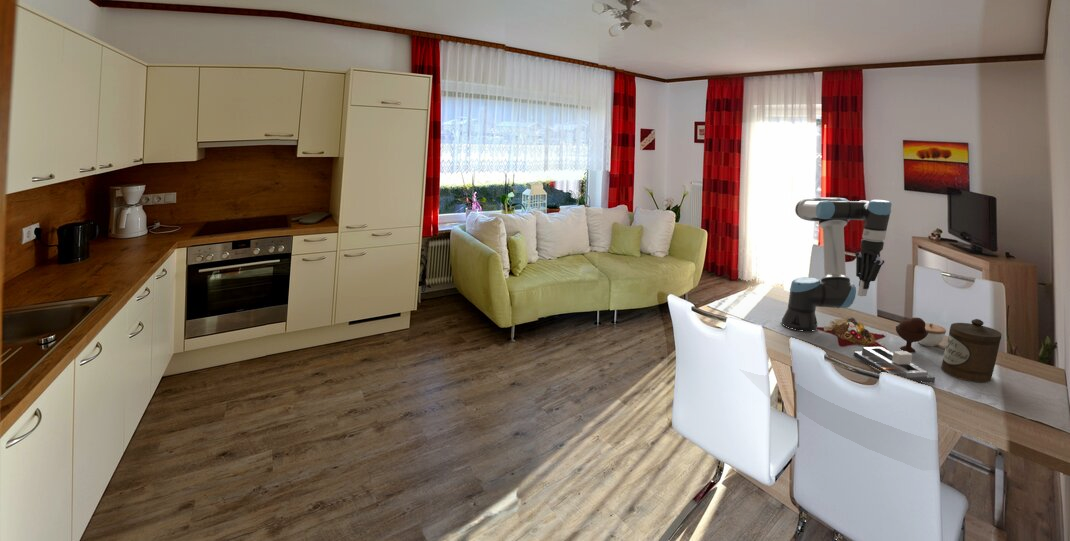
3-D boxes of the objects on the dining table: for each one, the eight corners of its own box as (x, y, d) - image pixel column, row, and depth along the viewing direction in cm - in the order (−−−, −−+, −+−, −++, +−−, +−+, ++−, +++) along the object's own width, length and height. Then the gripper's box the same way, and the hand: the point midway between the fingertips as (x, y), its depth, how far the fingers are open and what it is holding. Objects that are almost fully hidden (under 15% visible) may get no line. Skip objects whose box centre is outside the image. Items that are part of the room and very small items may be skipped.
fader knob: (890, 366, 192) (893, 351, 190) (902, 365, 192) (905, 350, 190) (897, 370, 188) (900, 355, 187) (909, 369, 189) (912, 354, 187)
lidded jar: (947, 349, 212) (952, 329, 209) (919, 347, 214) (924, 327, 211) (933, 339, 222) (938, 320, 219) (906, 337, 224) (911, 318, 221)
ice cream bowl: (917, 346, 214) (924, 314, 210) (927, 357, 204) (935, 323, 200) (888, 343, 218) (895, 311, 214) (897, 353, 208) (904, 320, 204)
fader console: (853, 355, 205) (855, 347, 204) (885, 354, 206) (887, 346, 205) (898, 383, 182) (900, 373, 181) (934, 382, 183) (936, 372, 182)
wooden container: (933, 363, 199) (945, 311, 193) (978, 367, 195) (991, 315, 189) (951, 379, 185) (965, 324, 180) (999, 385, 181) (1015, 329, 175)
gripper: (852, 236, 202) (842, 290, 209) (876, 243, 190) (865, 301, 197) (869, 235, 203) (859, 289, 210) (894, 243, 190) (882, 300, 197)
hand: (861, 295), depth 203 cm, fingers closed
